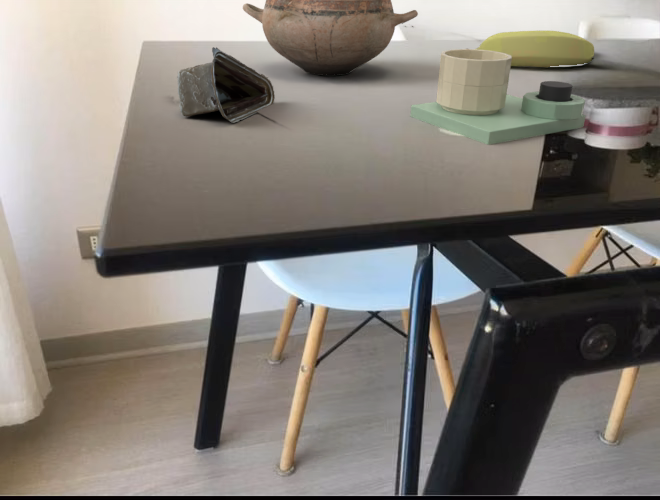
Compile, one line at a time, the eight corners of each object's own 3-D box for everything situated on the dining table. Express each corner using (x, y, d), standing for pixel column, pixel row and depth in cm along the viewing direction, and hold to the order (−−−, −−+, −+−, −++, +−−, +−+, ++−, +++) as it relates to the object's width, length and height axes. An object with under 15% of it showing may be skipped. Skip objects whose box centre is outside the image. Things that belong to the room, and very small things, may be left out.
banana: (592, 23, 91) (456, 31, 100) (588, 62, 92) (454, 67, 101) (596, 38, 104) (474, 44, 112) (593, 73, 105) (472, 76, 113)
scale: (504, 104, 76) (507, 78, 75) (591, 128, 67) (597, 100, 66) (409, 117, 69) (412, 90, 68) (492, 147, 60) (496, 116, 59)
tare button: (551, 96, 69) (554, 80, 68) (575, 102, 66) (579, 85, 65) (531, 99, 67) (534, 82, 66) (555, 105, 65) (558, 88, 64)
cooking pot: (415, 64, 99) (422, -20, 94) (410, 89, 83) (417, -12, 77) (261, 56, 103) (259, -25, 97) (226, 79, 86) (221, -19, 81)
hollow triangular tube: (228, 98, 77) (164, 33, 67) (277, 87, 74) (219, 17, 64) (215, 166, 73) (146, 108, 64) (267, 157, 70) (203, 95, 61)
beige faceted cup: (471, 97, 73) (477, 47, 70) (518, 111, 67) (526, 57, 65) (422, 104, 69) (427, 51, 67) (468, 119, 64) (474, 62, 61)
